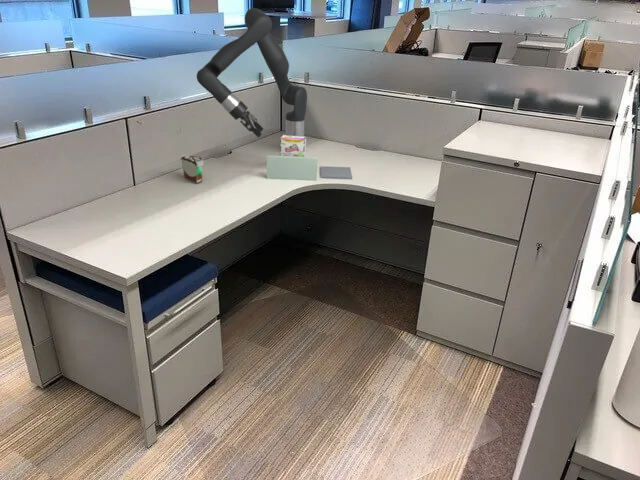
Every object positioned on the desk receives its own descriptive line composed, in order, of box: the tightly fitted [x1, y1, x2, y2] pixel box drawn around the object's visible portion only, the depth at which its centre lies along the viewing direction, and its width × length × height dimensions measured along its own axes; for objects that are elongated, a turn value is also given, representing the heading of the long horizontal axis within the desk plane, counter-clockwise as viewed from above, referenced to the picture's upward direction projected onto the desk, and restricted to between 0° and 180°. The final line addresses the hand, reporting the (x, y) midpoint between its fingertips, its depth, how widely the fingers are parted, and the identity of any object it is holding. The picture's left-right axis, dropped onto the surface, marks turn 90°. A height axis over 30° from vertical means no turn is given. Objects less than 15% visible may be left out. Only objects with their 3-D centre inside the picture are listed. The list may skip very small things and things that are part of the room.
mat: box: [320, 165, 353, 180], centre depth 232 cm, size 14×14×1 cm
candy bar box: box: [279, 134, 307, 157], centre depth 228 cm, size 11×5×16 cm, turn 84°
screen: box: [266, 155, 319, 181], centre depth 221 cm, size 2×22×10 cm, turn 91°
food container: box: [180, 154, 205, 185], centre depth 216 cm, size 12×6×10 cm, turn 47°
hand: (261, 133), depth 223 cm, fingers open, 8 cm apart
